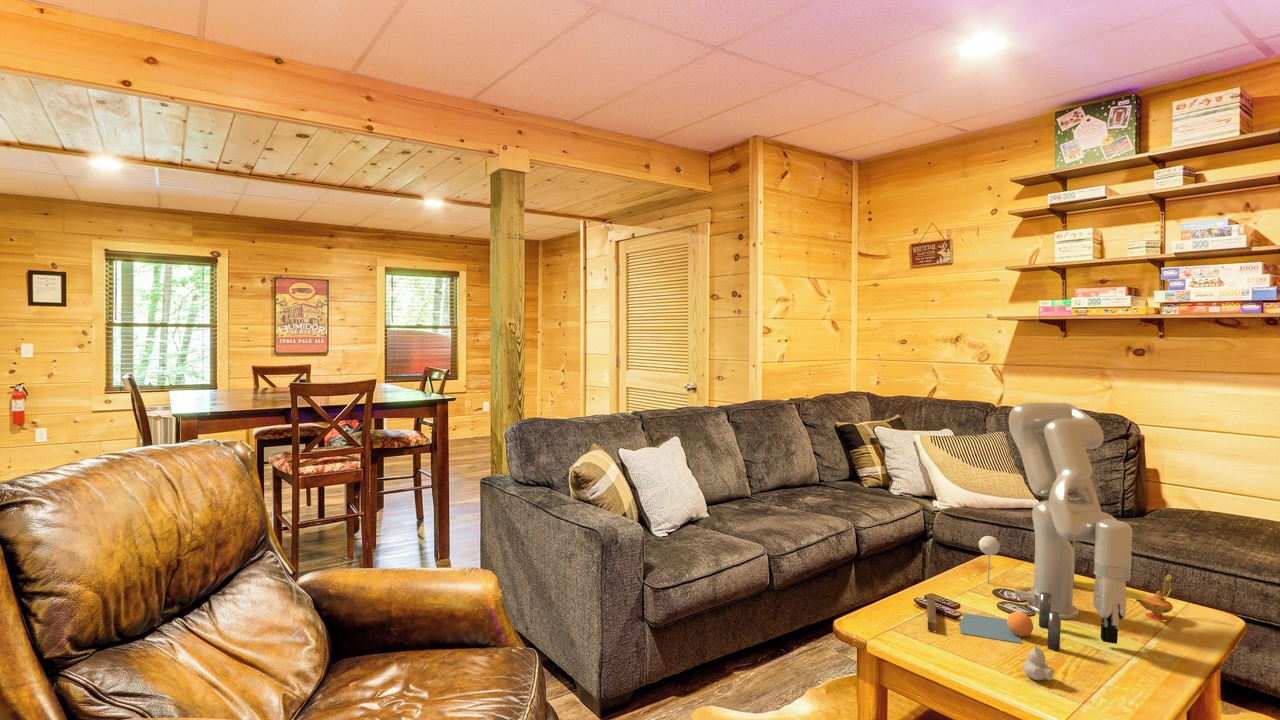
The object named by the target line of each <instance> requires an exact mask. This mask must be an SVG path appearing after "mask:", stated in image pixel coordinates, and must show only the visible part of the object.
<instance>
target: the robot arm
mask: <svg viewBox="0 0 1280 720" xmlns="http://www.w3.org/2000/svg"><path fill="white" fill-rule="evenodd" d="M1008 427H1009V428H1008V429H1009V432H1010V435H1011V437H1012V439H1013V442H1014V443H1015V445H1016V447H1017V449H1018V450H1019V453H1020V457H1021V460H1022V464H1023V465H1022V466H1023V468H1024V471H1025V475H1026V479H1027V481H1028V485H1029V487H1030V489H1031V491H1032V492H1033V494H1035V495H1037V496H1041V497H1048V499H1047V500H1046V499H1045V500H1041V501H1039V502H1037V503H1035V505H1034V506H1033V508H1032V510H1031V511H1032V513H1031V517H1032V524H1033V528H1034V571H1033V574H1034V575H1033V587H1030V590H1027V591H1025V590H1020V589H1014V597H1017V598H1020V600H1021V601H1022V600H1023V601H1026V606H1027V605H1028V606H1029V607H1030V608H1031V609H1032V610H1031V609H1030V608H1029V607H1028V606H1027V607H1028V608H1029V609H1030V610H1031V611H1033V610H1034V611H1033V612H1034V613H1037V614H1039V606H1040V593H1041V592H1046V593H1049V594H1051V611H1054V612H1058V613H1060V614H1061V620H1063V619H1064V620H1067V619H1068V620H1069V619H1071V620H1072V619H1075V618H1077V617H1078V616H1079V613H1080V610H1079V609H1078V608H1077V607H1076V606H1075V605H1073V603H1074V602H1073V596H1074V584H1073V580H1074V581H1075V566H1074V549H1073V547H1072V545H1071V544H1070V542H1069V541H1076V542H1094V550H1093V551H1094V554H1093V556H1094V557H1093V574H1094V575H1095V580H1094V588H1093V599H1092V604H1093V607H1094V609H1095V610H1096V612H1097V613H1098V614H1099V616H1100V617H1101V621H1100V622H1101V624H1100V639H1101V641H1102V642H1103V643H1108V644H1115V645H1116V644H1118V640H1119V639H1118V637H1119V635H1118V634H1119V627H1120V626H1119V624H1120V623H1119V622H1120V621H1124V620H1125V619H1126V609H1127V607H1126V606H1127V589H1126V588H1127V587H1126V586H1127V585H1126V582H1128V581H1130V580H1131V569H1132V566H1131V565H1132V551H1133V550H1132V546H1133V528H1132V526H1131V525H1130V524H1129V523H1127V522H1124V521H1122V520H1117V519H1116V518H1115V517H1114V516H1112V514H1109V513H1107V512H1104V511H1102V509H1101V505H1100V502H1099V500H1098V496H1097V493H1096V490H1095V487H1094V484H1093V481H1092V478H1091V476H1092V474H1093V472H1094V470H1093V467H1092V464H1091V461H1090V458H1089V455H1088V452H1087V450H1090V449H1091V450H1092V449H1098V448H1099V447H1101V446H1102V444H1103V442H1104V437H1105V436H1104V432H1103V429H1102V427H1101V426H1100V424H1099V423H1098V422H1097V421H1096V420H1095V419H1094V418H1093V417H1091V416H1090V415H1089V414H1087V413H1085V412H1084V411H1083V410H1081V409H1080V408H1078V407H1076V406H1075V405H1072V404H1070V403H1066V402H1025V403H1020V404H1017V405H1015V406H1014V407H1013V408H1011V410H1010V412H1009V415H1008ZM1039 432H1043V434H1044V437H1043V436H1042V435H1041V434H1039ZM1068 540H1069V541H1068ZM1119 620H1120V621H1119Z"/></svg>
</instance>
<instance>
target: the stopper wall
mask: <svg viewBox="0 0 1280 720" xmlns="http://www.w3.org/2000/svg"><path fill="white" fill-rule="evenodd" d="M926 611H927V612H926V615H927V616H926V617H928V620H927V631H928V630H930V631H936V632H937V613H936V611H937V610H936V598H935V597H933V596H927V597H926Z"/></svg>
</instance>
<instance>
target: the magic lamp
mask: <svg viewBox="0 0 1280 720" xmlns="http://www.w3.org/2000/svg"><path fill="white" fill-rule="evenodd" d="M1172 578H1173V577H1172V575H1171V574H1168V575H1166V576H1165V577H1164V580H1163V581H1164V582H1163V583H1164V584H1163V593H1162V591H1161V590H1157V591H1156V593H1155V594H1154V595H1153V596H1152V597H1151V596H1149V597H1143V598H1142V599H1137V598H1136V599H1135V601H1136V602H1138V603H1139V604H1140V605H1141V606H1142V607H1143V608H1145V609H1146V610H1148V611H1151V612H1148V613H1147V612H1146V613H1145V614H1144V615H1145V617H1147V618H1148V619H1150V618H1151V620H1153V619H1154V621H1157V620H1159V621H1158V622H1164V621H1163V620H1167V619H1168V617H1166V616H1165V615H1164V614H1167V613H1169V612H1171V611H1172V610H1173V609H1174V605H1173V604H1172V603H1171V602H1170V601H1167V600H1166V599H1168V596H1170V593H1171V591H1172V585H1171V582H1170V581H1171V580H1172ZM1167 583H1168V586H1169V590H1168V593H1167V594H1166V592H1167ZM1161 620H1162V621H1161Z"/></svg>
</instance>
